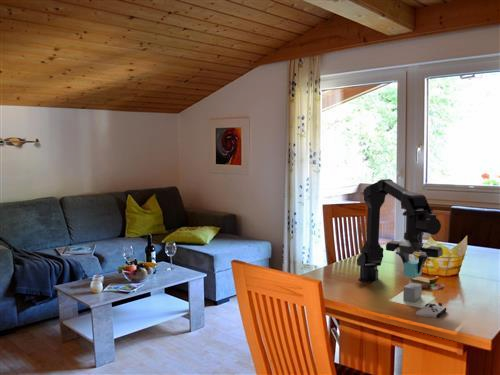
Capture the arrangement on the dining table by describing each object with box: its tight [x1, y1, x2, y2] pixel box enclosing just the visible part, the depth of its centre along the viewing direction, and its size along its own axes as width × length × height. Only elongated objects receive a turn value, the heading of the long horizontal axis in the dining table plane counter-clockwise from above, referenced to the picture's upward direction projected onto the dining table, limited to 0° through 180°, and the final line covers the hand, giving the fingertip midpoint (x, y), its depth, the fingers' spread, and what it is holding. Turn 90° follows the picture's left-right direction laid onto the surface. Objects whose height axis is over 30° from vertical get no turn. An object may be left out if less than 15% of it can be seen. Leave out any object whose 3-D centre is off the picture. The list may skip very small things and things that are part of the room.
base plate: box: [388, 290, 436, 309], centre depth 171 cm, size 12×14×1 cm
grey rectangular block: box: [403, 282, 423, 303], centre depth 171 cm, size 4×7×5 cm, turn 141°
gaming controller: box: [415, 302, 447, 319], centre depth 158 cm, size 11×6×7 cm
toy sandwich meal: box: [407, 275, 446, 291], centre depth 186 cm, size 12×14×5 cm
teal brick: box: [403, 258, 423, 278], centre depth 170 cm, size 4×7×5 cm, turn 141°
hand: (412, 272), depth 170 cm, fingers closed on teal brick, 4 cm apart
